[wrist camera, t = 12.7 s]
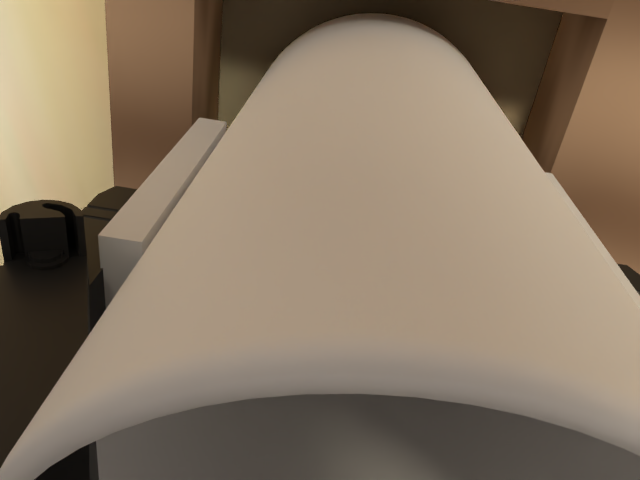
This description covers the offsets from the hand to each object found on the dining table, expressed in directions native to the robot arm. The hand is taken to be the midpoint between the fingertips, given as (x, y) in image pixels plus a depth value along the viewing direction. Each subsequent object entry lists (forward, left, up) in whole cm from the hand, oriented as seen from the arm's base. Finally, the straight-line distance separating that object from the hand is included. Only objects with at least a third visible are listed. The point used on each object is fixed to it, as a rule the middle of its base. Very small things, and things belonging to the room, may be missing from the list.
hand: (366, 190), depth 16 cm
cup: (0, 0, -5) cm, 5 cm away
